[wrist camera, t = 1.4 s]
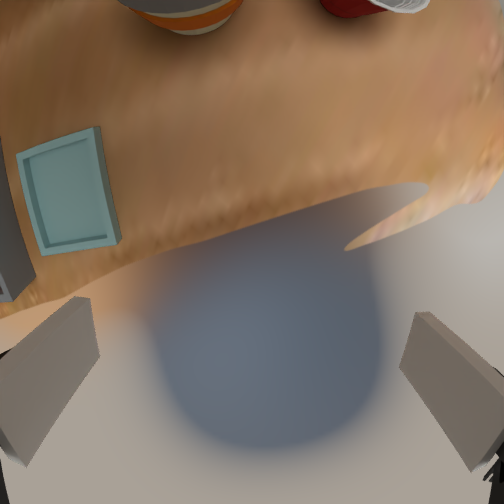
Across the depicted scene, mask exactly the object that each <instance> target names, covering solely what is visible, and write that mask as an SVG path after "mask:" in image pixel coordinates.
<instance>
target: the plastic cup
mask: <svg viewBox="0 0 504 504" xmlns="http://www.w3.org/2000/svg"><path fill="white" fill-rule="evenodd" d="M320 1H321V4H322V5H323V6H324V7H325V8H326V9H327V11H329V12H331V13H332V14H334V15H335V16H339V17H343V18H355V17H359V16H362V15H369V14H373V13H378V12H383V11H388V10H390V11H392V12H398V13H416V12H418V11H420V10H422V9H424V8H426V7H427V5H428V3H429V1H430V0H320Z"/></svg>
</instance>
